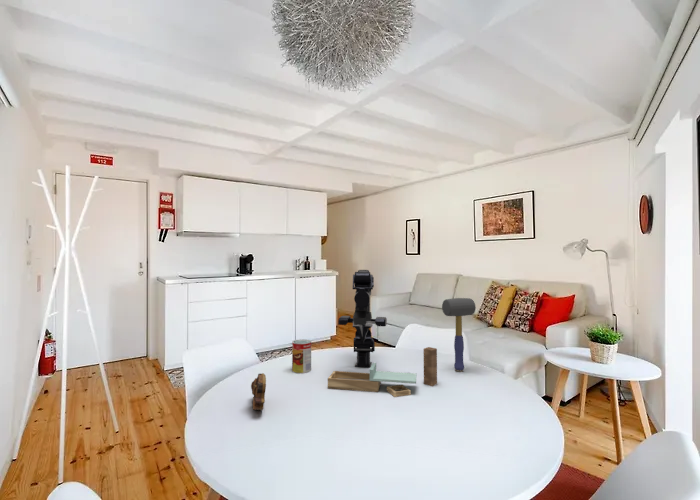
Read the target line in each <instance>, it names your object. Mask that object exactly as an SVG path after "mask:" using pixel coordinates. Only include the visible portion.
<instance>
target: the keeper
mask: <svg viewBox="0 0 700 500" xmlns="http://www.w3.org/2000/svg"><path fill="white" fill-rule="evenodd" d="M386 391H387V393H389V394H390V395H392V396H393V397H394V398H397V397H404V396H411V393H412V391H411V389H410V388H408V387H406V386H405V385H404V383H400V384H395V385H394V384H393V385H386Z"/></svg>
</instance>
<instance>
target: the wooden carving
mask: <svg viewBox="0 0 700 500" xmlns="http://www.w3.org/2000/svg"><path fill="white" fill-rule="evenodd" d="M266 387H267V377H266V374H265V373H263V372H262V373H258V374H257V377H256V378H254V380H253V381H251V384H250V389H251V394H252V395H253V397H252V409H253V410H254V411H255V410H257V411H263V410H264V405H265V403H266V401H265V397H266V396H265V395H266Z"/></svg>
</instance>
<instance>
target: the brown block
mask: <svg viewBox="0 0 700 500" xmlns="http://www.w3.org/2000/svg"><path fill="white" fill-rule="evenodd" d="M423 385H426V386H430V387H434V386H436V385H438V349H437V348H435V347H430V346H427V347H424V348H423Z"/></svg>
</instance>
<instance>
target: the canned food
mask: <svg viewBox="0 0 700 500" xmlns="http://www.w3.org/2000/svg"><path fill="white" fill-rule="evenodd" d="M291 346H292V347H291V349H292V350H291V352H292V354H291V355H292V358H291V362H292V363H291V365H292V366H291V370H292V371H291V372H292V373H295V374H307V373H309V372H311V371H312V340H311V339H306V338H303V339H302V338H299V339H294V340H292V343H291Z"/></svg>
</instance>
